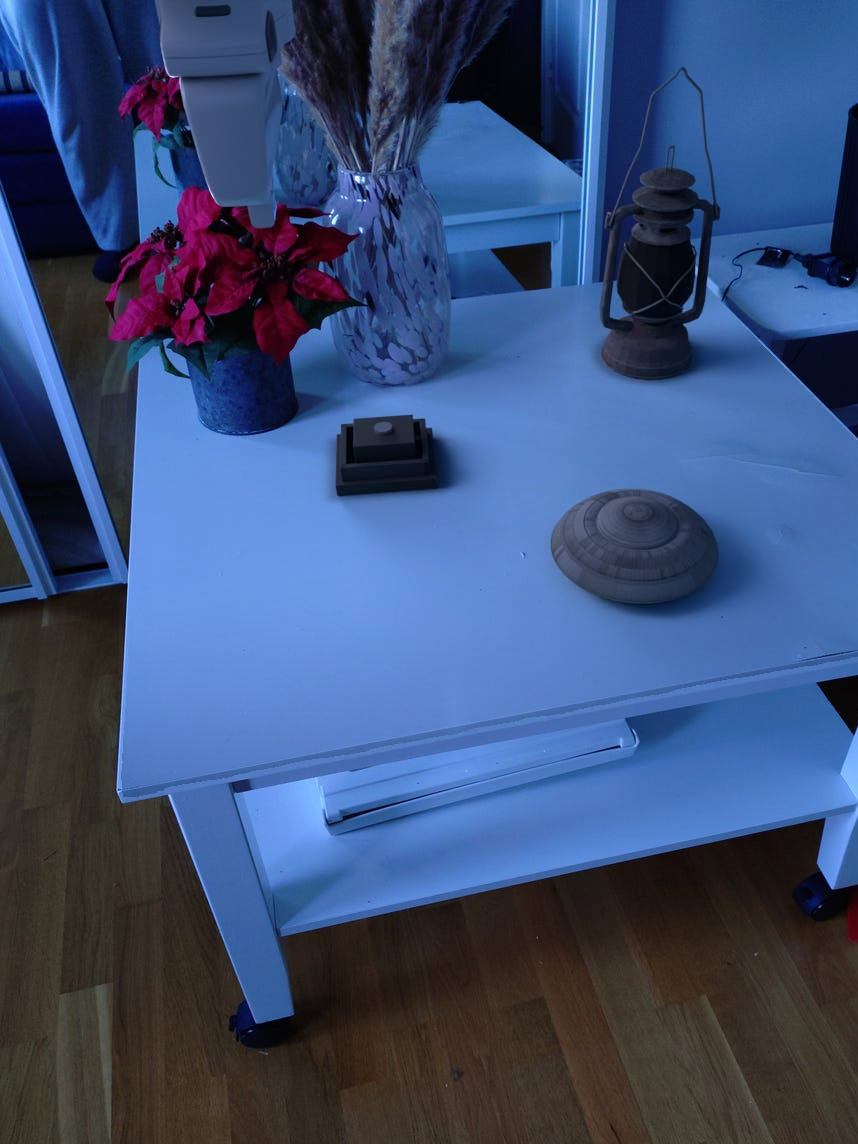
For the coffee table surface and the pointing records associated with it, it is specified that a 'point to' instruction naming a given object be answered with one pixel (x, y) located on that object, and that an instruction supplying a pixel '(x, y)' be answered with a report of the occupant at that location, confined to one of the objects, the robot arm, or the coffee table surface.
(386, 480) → the black open box
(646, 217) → the lantern
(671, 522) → the flying saucer
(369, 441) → the small block
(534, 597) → the coffee table surface
